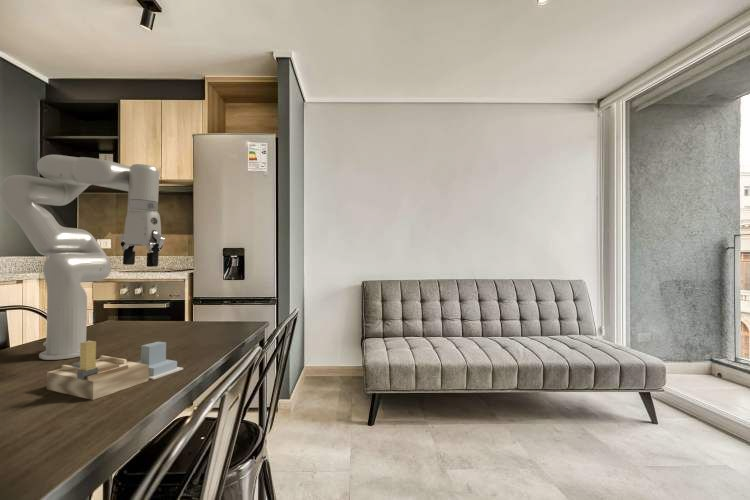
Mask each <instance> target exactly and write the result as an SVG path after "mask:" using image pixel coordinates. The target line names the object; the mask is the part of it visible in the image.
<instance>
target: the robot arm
mask: <svg viewBox="0 0 750 500" xmlns="http://www.w3.org/2000/svg"><path fill="white" fill-rule="evenodd" d="M36 163H37V164H36V168H37V171H38V173H39V174H40V175H41V176H43V177H41V176H40V177H39V176H34V175H27V174H26V175H25V174H15V175H14V174H13V175H10V176H7V177H6V178H4V179H3V180H2V181H1V183H0V201H1V203H2V205H3V208H5V211H6V212H7V213H8V214H9V215H10V216H11V217H12V218H13V219H14V221H16V223H17V224H18V225H19V227H20V228H21V230H22V231H23V233H24V234H25V236H26V237H27V239H28V240H29V242H30V244H31V245H32V246H33V248H34V249H35V251H36V252H37V253H39V254H40V255H42V256H45V257H47V258H46V259H45V261H44V262H43V263H44V264H43V267H42V268H43V275H44V279H45V283H46V297H47V298H46V333H45V334H46V340H45V341H44V342H43V343H42V345H43V346H44V347H45V350H44V351H41V352H40V353H39V354H38V358H39V359H41V360H43V361H44V360H45V361H55V360H57V361H58V360H66V359H67V360H68V359H73V358H74V359H75V358H78V357H79V358H80V343H81V342H86V341H87V328H88V327H87V324H88V323H87V321H88V319H87V318H88V316H87V315H88V295H87V292H86V290H85V289H84V287H83V285H82V284H81V283H88V282H89V283H90V282H91V283H92V282H99V281H102V280H105V279H106V278H107V277H109V276H110V274H111V272H112V265H111V261H110V259H109V256H107V254H106V253H105V250H104V249H103V248H102V247H101V245H100V243H99V242H98V241H97V239H96V238H95V237H94V235H92V234H91V233H90V232H89V231H87V230H85V229H82V228H75V227H66V226H62V225H60V224H59V222H58V221H57V220H56V219H55V217H54V215H53V214H52V213H51V212H50V211H49V210H47V209H46V208H44V207H42V206H41V205H47V206H48V205H49V206H56V207H61V206H66V205H68V204H69V203H72V202H73V201H74V200H75V199H76V198H78V197H79V196H80V195H81V194H82V193H83V192H84V191H85V190H86V189H88V187H89V186H92V185H93V186H96V187H97V186H98V187H102V188H103V187H104V188H109V189H113V190H119V191H124V192H128V194H127V213H126V216H125V221H124V233H123V234H121V235H120V236H119V241H120V245H121V250H122V252H123V255H122V265H124V266H126V265H127V266H128V265H129V266H131V265H132V266H133V265H135V263H136V261H135V259H136V251H134V250H135V249H136V247H137V246H139V247H140V246H141V247H146V248H147V251H148V252H147V253H146V267H149V268H151V267H157V268H158V266H159V253H161V249H162V248H163V245H164V243H165V240H166V238H165V237H164V236H163V235H162V224H161V223H162V222H161V221H162V220H161V215H160V212H159V211H158V210H159V192H160V191H159V188H160V171H159V169H158V168H157V167H155V166H153V165H150V164H149V165H148V164H144V163H143V164H142V163H135V164H132V165H130V166H129V165H126V164H122V163H119V162H115V161H111V160H106V159H101V158H94V157H86V156H85V157H84V156H80V157H78V156H77V157H76V156H68V155H63V154H48V155H45V156H42V157H40V158H39V160H38V161H37V162H36ZM39 204H40V205H39Z"/></svg>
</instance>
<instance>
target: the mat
mask: <svg viewBox="0 0 750 500" xmlns="http://www.w3.org/2000/svg"><path fill="white" fill-rule="evenodd" d="M182 370H184V367H180V366H177V369H174V370H171V371H168V372H165V373H162V374H159V375H156V376H148V380H153V381H154V380H157V379H160V378H162V377H165V376H168V375H171V374H174V373H177V372H180V371H182Z"/></svg>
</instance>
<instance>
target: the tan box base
mask: <svg viewBox="0 0 750 500" xmlns="http://www.w3.org/2000/svg"><path fill="white" fill-rule="evenodd" d="M96 367H97V368H98V373H97V374H94V375H91V376H87V379H84V380H82V379H77V370H80V368H76V367H72V365H68V364H62V365H61V368H58V369H55V370H50V371H47V372H46V390H48V391H53V392H57V393H61V394H66V395H70V396H74V397H78V398H83V399H87V400H97V399H101V398H103V397H106V396H108V395H111V394H114V393H117V392H119V391H120V392H121V391H122V390H126V389H128V388H129V389H130V388H131V387H134V386H138V385H140V384H143V383H146V382H148V381H149V379H148V376H149V365H147V364H141V363H135V362H134V361H128V360H127V359H126V358H119V357H115V356H114V357H113V356H108V355H99V358H97V359H96Z"/></svg>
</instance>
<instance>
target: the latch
mask: <svg viewBox="0 0 750 500" xmlns="http://www.w3.org/2000/svg"><path fill="white" fill-rule="evenodd" d="M96 356H97V341H96V340H95V341H94V340H86V342H81V343H80V356H79V358H80V359H79V361H78V362H73V363H71V366H72V367H76V368H80V370H77V379H82V380H84V379H87V376H91V375H94V374H97V373H98V368H97V367H96V360H97V359H96V358H97V357H96Z"/></svg>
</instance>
